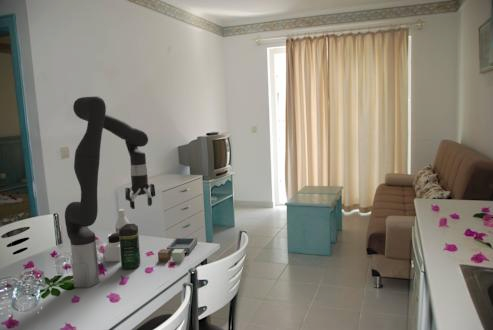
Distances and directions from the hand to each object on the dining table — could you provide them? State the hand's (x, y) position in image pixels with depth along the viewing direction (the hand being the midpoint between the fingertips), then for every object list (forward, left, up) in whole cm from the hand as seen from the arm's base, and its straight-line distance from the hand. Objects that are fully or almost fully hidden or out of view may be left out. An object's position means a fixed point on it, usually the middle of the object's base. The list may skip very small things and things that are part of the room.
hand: (141, 207), depth 191 cm
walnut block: (-10, -14, -23) cm, 28 cm away
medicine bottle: (-9, +10, -23) cm, 27 cm away
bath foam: (+5, +12, -23) cm, 26 cm away
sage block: (-10, -20, -23) cm, 32 cm away
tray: (+5, -18, -22) cm, 29 cm away
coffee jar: (-17, -1, -23) cm, 29 cm away
